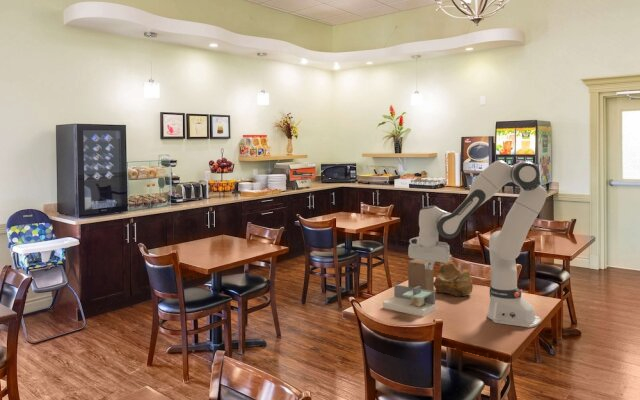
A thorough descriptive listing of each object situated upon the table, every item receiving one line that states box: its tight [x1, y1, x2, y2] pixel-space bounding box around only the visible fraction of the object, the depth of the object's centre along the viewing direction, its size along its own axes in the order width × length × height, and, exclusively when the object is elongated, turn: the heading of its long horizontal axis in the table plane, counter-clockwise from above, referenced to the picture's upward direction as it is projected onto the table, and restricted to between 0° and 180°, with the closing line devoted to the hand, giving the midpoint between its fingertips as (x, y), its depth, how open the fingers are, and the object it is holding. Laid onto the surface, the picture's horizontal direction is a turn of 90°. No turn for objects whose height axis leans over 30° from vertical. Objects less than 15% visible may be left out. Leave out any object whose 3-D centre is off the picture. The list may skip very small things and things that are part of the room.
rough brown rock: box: [434, 261, 474, 297], centre depth 264 cm, size 23×17×15 cm
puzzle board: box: [382, 284, 436, 318], centre depth 239 cm, size 22×12×9 cm, turn 50°
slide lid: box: [402, 286, 432, 299], centre depth 235 cm, size 10×10×4 cm
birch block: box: [411, 298, 424, 308], centre depth 236 cm, size 4×4×7 cm
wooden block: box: [407, 259, 435, 292], centre depth 254 cm, size 10×10×20 cm
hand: (429, 269), depth 231 cm, fingers closed
